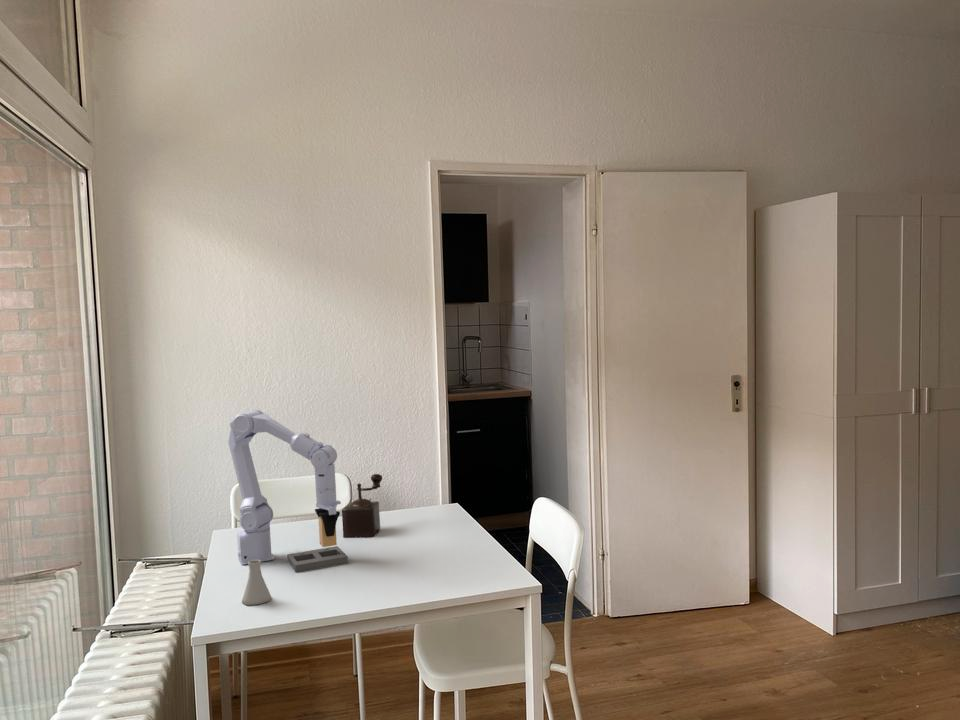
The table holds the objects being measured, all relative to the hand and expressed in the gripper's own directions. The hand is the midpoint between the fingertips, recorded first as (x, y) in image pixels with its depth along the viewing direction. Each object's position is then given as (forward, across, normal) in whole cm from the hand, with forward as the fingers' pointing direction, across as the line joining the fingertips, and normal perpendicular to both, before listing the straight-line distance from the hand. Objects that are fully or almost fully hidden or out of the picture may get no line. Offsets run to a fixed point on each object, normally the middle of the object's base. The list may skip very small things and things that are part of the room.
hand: (328, 534), depth 220 cm
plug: (+3, 0, 0) cm, 3 cm away
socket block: (+8, 0, +4) cm, 8 cm away
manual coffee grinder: (+8, +25, -18) cm, 32 cm away
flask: (+8, -23, +24) cm, 34 cm away
